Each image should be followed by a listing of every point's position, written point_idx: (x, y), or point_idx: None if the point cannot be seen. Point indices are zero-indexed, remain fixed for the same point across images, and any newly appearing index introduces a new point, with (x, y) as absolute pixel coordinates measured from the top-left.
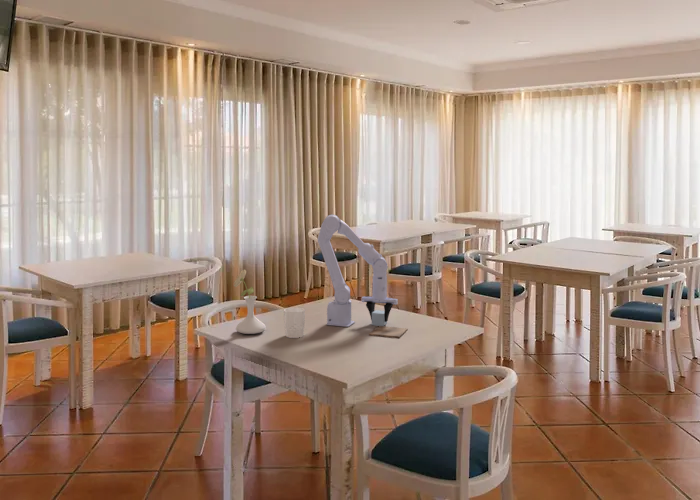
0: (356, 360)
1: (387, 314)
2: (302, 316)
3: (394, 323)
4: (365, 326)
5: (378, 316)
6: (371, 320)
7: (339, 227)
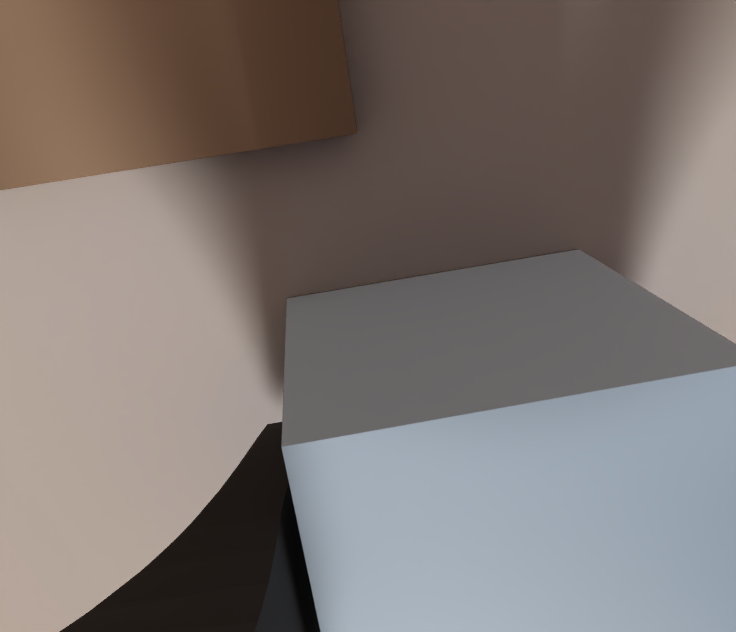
0: None
1: (187, 534)
2: None
3: None
4: (673, 59)
5: (467, 364)
6: None
7: None
